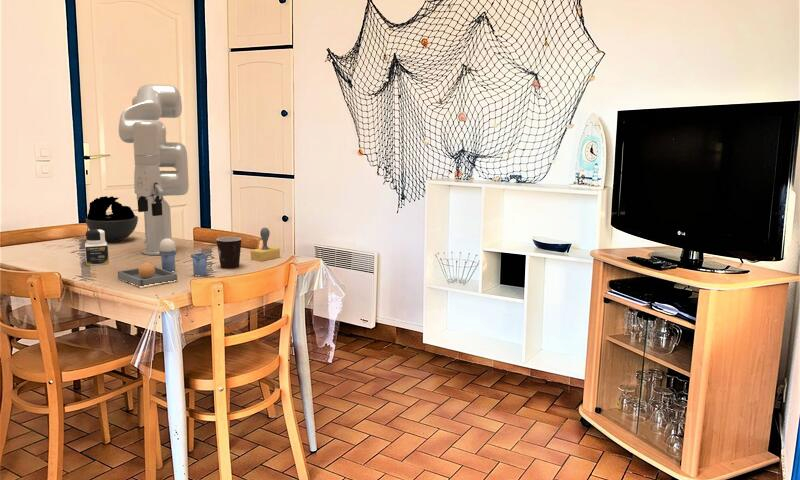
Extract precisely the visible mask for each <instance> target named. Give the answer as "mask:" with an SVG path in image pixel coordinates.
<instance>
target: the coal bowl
mask: <svg viewBox="0 0 800 480" xmlns="http://www.w3.org/2000/svg"><path fill="white" fill-rule="evenodd" d="M119 198H120V197H114V196H112V195H111V196H106V195H105V196H100V197H96V198H94V199H93V200H92V201H91V202H89V208H88V213H87V217H86V218H85V223H86V225H87V228H88V231H89V230H95V229H100V230H103V231H104V232H105V241H106V242H119V241H122V240H124V239H126V238H128V237H130V235H132V233H134V232H135V230H136V227H137V226H138V222H139V216H138V215H135V213H134V211H133V210H132V208H131V206H129V205H128V206H127V205H123V204H122V203H120V202H119V201H117V200H118V199H119ZM109 208H110V209H111V213H108V214H107V210H109Z"/></svg>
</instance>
